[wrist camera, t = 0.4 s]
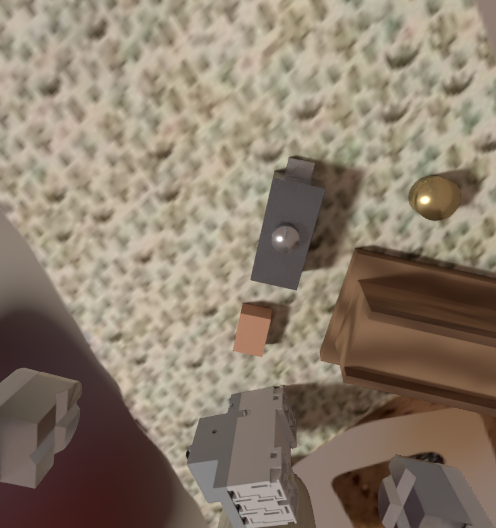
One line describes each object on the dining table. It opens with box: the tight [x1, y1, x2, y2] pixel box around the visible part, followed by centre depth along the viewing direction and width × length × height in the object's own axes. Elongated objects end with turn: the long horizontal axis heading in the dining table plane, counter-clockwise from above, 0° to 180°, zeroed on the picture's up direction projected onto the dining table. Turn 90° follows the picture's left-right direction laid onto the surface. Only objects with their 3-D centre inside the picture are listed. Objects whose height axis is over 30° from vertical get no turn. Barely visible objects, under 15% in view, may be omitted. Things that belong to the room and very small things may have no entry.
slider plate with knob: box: [250, 157, 325, 290], centre depth 41 cm, size 16×6×6 cm, turn 169°
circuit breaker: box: [186, 385, 299, 528], centre depth 49 cm, size 8×14×15 cm, turn 109°
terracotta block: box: [233, 303, 272, 357], centre depth 48 cm, size 6×4×3 cm, turn 170°
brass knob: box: [408, 175, 461, 221], centre depth 39 cm, size 4×4×3 cm
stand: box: [320, 248, 496, 417], centre depth 42 cm, size 16×20×10 cm
